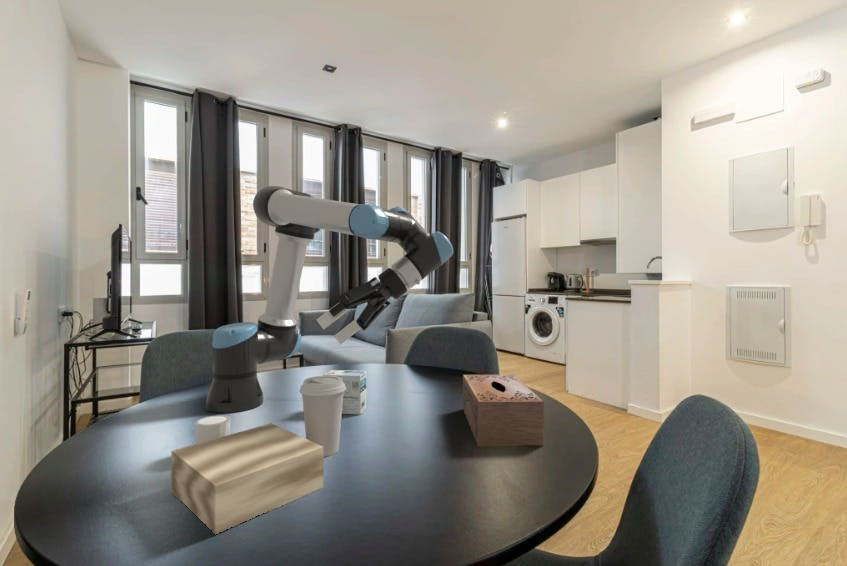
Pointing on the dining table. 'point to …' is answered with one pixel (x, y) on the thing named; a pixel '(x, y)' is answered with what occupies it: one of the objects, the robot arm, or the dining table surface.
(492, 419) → the tissue box cover
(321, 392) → the coffee cup
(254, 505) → the riser block
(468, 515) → the dining table surface
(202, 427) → the shot glass
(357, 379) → the light bulb box
